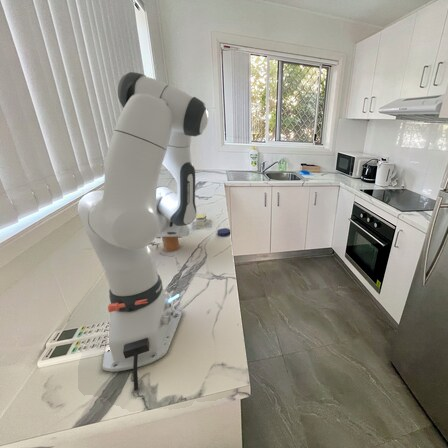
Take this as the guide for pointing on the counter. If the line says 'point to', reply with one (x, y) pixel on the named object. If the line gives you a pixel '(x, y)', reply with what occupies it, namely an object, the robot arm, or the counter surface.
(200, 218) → the stacked layers on plate
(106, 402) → the counter surface
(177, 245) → the jar
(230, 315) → the counter surface
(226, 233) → the lid
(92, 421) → the counter surface
